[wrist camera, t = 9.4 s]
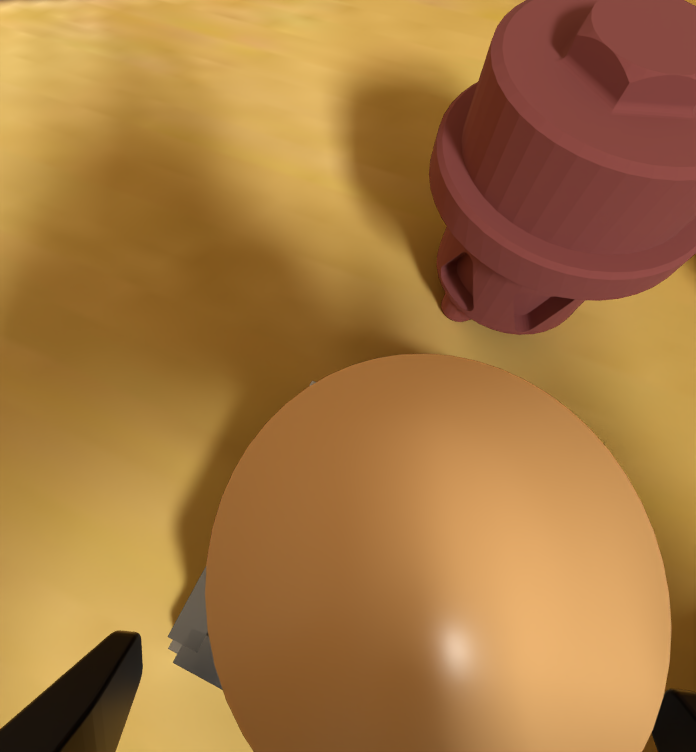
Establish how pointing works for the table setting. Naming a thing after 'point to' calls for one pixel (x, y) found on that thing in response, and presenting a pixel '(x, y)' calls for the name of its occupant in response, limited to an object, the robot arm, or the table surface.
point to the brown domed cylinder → (435, 572)
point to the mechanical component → (569, 162)
